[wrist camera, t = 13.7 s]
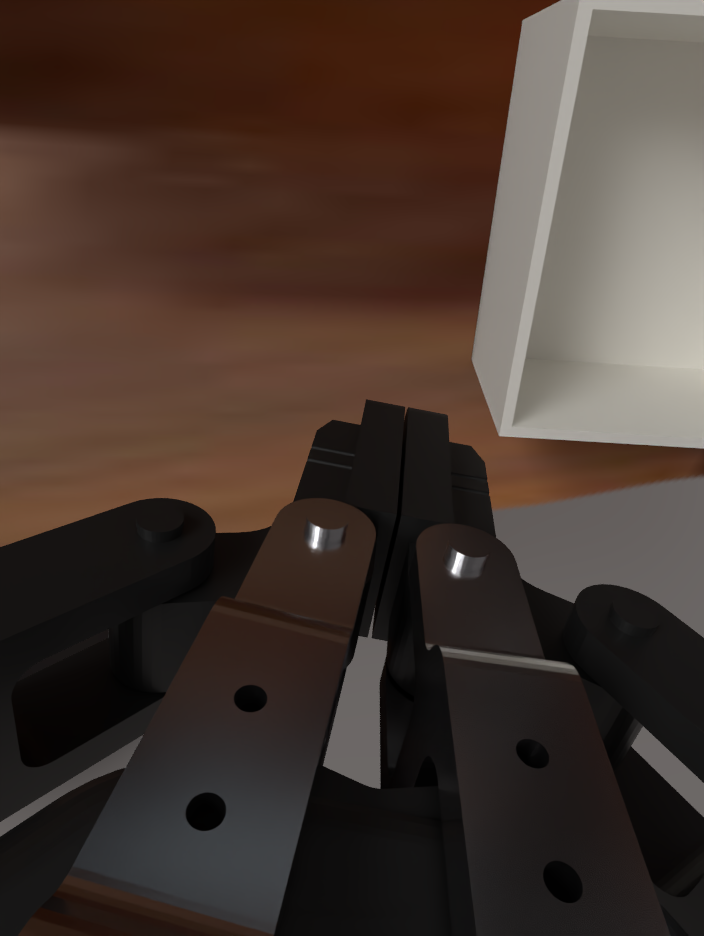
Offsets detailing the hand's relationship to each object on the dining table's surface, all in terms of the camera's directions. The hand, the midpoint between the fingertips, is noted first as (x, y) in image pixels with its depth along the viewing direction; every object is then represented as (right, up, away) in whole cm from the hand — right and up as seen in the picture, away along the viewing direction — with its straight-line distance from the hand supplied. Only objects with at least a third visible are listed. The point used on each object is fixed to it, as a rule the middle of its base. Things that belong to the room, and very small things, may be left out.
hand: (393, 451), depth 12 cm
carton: (+17, +16, +29) cm, 37 cm away
